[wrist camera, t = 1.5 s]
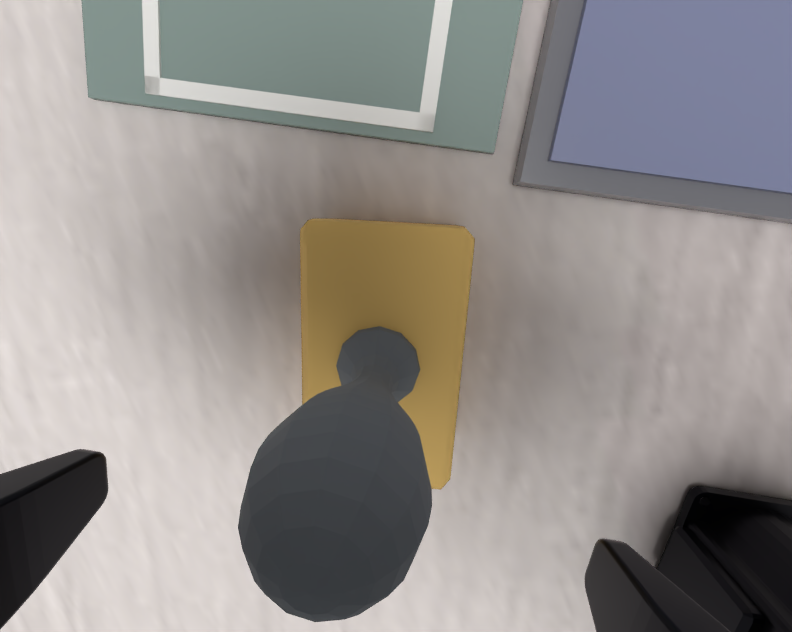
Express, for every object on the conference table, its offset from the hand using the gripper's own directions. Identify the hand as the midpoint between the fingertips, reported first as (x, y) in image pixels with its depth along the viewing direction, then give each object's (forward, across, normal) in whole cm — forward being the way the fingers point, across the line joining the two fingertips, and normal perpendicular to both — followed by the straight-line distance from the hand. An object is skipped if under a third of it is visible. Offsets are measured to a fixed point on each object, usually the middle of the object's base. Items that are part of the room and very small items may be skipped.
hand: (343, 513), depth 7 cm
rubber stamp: (+11, 0, 0) cm, 11 cm away
